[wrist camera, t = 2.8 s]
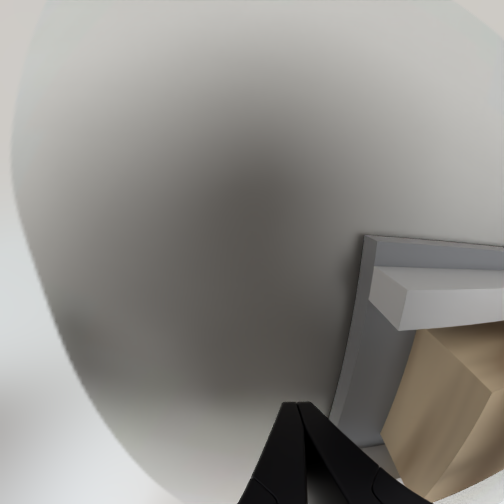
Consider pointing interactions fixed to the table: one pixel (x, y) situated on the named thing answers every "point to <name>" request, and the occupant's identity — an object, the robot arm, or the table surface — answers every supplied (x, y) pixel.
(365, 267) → the channel
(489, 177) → the table surface
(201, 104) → the table surface
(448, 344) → the tan block
